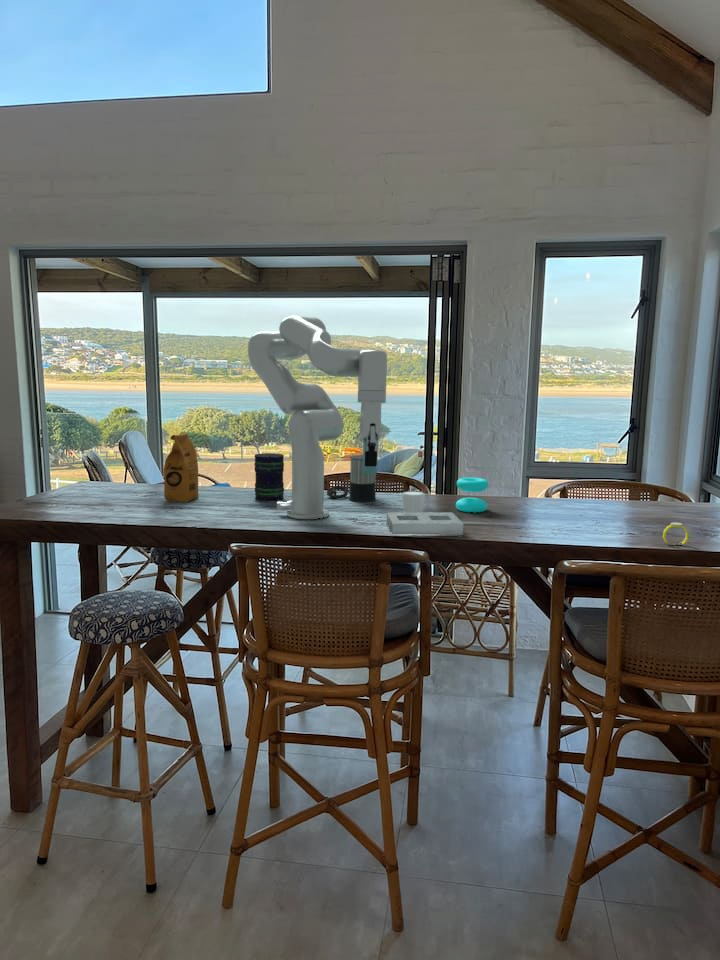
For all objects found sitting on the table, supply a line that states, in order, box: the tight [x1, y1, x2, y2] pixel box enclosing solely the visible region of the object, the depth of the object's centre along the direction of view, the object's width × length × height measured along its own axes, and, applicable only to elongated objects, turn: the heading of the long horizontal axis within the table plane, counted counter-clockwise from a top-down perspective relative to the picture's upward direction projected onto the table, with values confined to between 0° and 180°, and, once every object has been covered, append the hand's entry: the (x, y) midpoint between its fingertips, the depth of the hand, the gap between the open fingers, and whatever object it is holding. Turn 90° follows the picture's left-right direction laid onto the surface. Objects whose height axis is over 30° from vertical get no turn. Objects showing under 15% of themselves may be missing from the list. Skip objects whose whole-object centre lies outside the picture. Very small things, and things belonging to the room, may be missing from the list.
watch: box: [662, 522, 690, 545], centre depth 174 cm, size 6×3×6 cm, turn 82°
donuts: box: [455, 476, 489, 514], centre depth 214 cm, size 10×10×10 cm
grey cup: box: [402, 490, 426, 512], centre depth 204 cm, size 7×7×7 cm
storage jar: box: [254, 452, 285, 503], centre depth 226 cm, size 10×10×15 cm
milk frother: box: [326, 454, 377, 503], centre depth 229 cm, size 14×16×15 cm
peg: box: [362, 436, 379, 475], centre depth 182 cm, size 4×4×10 cm
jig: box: [386, 511, 464, 536], centre depth 186 cm, size 19×14×4 cm
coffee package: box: [163, 431, 200, 503], centre depth 222 cm, size 10×12×22 cm
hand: (369, 464), depth 182 cm, fingers closed on peg, 4 cm apart
